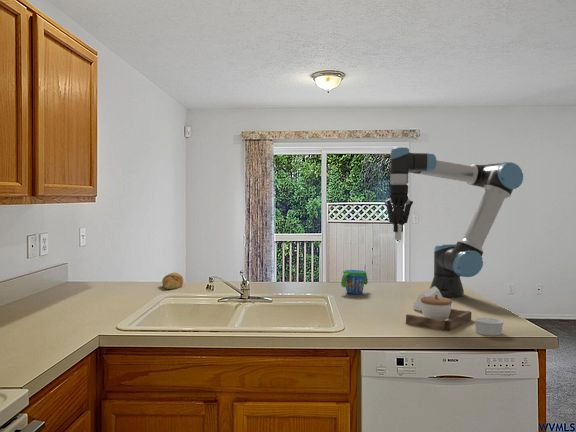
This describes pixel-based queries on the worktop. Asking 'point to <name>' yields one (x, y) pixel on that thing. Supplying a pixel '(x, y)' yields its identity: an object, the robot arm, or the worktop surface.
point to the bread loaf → (172, 281)
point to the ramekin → (488, 326)
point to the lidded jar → (436, 307)
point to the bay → (456, 320)
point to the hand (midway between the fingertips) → (398, 239)
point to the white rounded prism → (428, 293)
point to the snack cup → (354, 281)
